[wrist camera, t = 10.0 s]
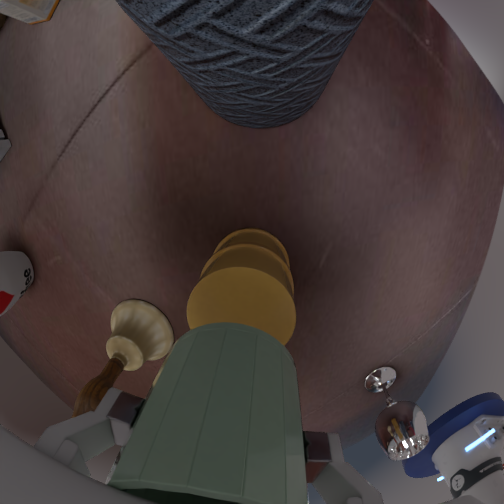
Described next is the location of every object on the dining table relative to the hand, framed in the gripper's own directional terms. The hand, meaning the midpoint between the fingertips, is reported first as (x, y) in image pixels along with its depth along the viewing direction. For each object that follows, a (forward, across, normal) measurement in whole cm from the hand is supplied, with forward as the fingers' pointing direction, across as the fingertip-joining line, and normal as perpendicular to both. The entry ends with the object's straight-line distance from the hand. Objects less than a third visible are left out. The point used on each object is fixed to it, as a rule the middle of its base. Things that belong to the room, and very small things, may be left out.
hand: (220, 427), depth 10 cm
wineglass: (+20, -20, +12) cm, 31 cm away
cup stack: (+20, 0, 0) cm, 20 cm away
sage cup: (+3, 0, 0) cm, 3 cm away
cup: (+20, +31, +8) cm, 38 cm away
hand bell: (+20, +11, +11) cm, 26 cm away
